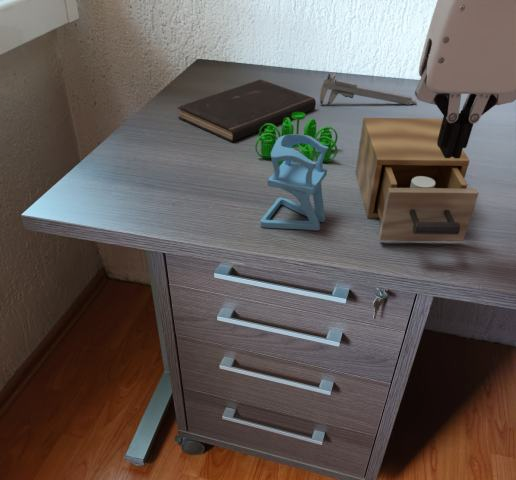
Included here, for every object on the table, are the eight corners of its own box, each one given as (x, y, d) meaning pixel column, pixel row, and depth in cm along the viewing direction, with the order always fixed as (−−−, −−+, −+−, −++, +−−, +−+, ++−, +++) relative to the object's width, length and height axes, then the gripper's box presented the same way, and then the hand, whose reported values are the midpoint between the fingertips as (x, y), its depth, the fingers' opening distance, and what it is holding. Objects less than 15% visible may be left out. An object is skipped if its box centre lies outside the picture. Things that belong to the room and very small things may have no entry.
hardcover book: (178, 118, 104) (177, 106, 102) (260, 90, 116) (260, 79, 114) (233, 143, 96) (232, 130, 94) (315, 110, 108) (316, 98, 106)
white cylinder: (424, 208, 76) (432, 176, 73) (429, 220, 74) (438, 187, 70) (402, 208, 76) (409, 175, 73) (406, 219, 74) (414, 187, 70)
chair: (313, 239, 74) (321, 157, 65) (259, 226, 76) (260, 145, 67) (330, 213, 79) (339, 133, 70) (278, 202, 81) (281, 123, 73)
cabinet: (452, 219, 78) (469, 160, 71) (367, 218, 78) (377, 159, 71) (430, 173, 88) (444, 118, 82) (355, 172, 88) (363, 117, 82)
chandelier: (351, 147, 95) (356, 108, 90) (316, 181, 86) (320, 140, 81) (278, 130, 100) (279, 92, 95) (238, 161, 91) (237, 120, 86)
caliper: (319, 106, 109) (322, 73, 105) (319, 104, 110) (321, 72, 106) (416, 105, 110) (423, 72, 106) (415, 103, 111) (421, 71, 106)
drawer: (472, 262, 68) (490, 212, 63) (385, 261, 69) (396, 211, 63) (439, 193, 82) (452, 147, 76) (366, 192, 82) (374, 146, 76)
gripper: (566, -45, 51) (502, 141, 64) (413, -48, 51) (380, 138, 64) (602, -31, 46) (524, 169, 58) (430, -35, 46) (390, 166, 58)
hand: (449, 153), depth 61 cm, fingers closed
